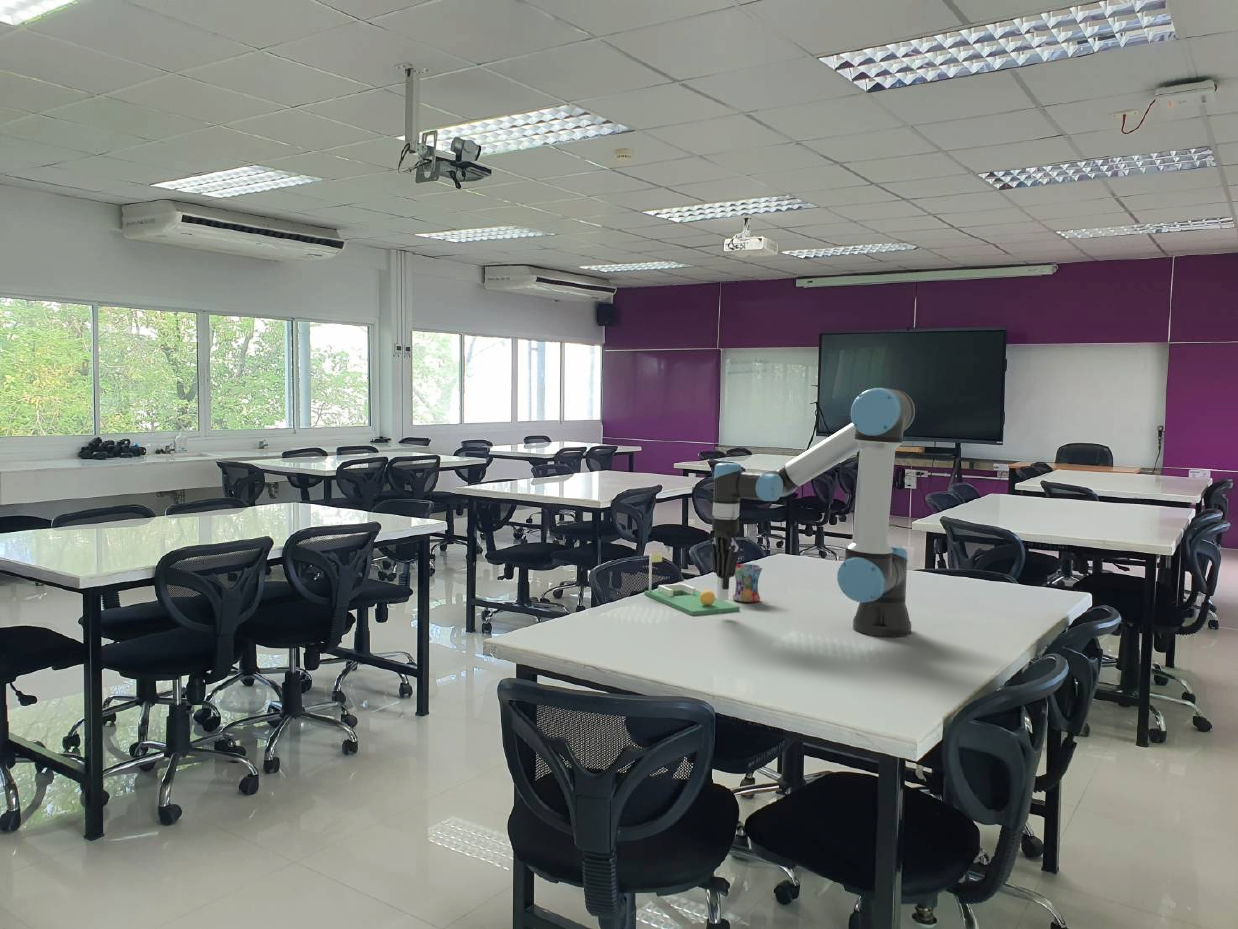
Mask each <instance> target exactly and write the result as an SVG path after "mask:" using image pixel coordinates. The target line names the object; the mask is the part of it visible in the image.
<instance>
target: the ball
mask: <svg viewBox="0 0 1238 929" xmlns="http://www.w3.org/2000/svg"><path fill="white" fill-rule="evenodd" d="M701 592H702V593H701V594H700V601H701V603H702V604H703V605H706V606H709V605H712V604H713V603H714V601H715V598H716V596H715V593H714V592H713V591H711V590H707V589H706V590H703V591H701Z"/></svg>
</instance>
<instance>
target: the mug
mask: <svg viewBox="0 0 1238 929" xmlns="http://www.w3.org/2000/svg"><path fill="white" fill-rule="evenodd" d="M762 570H763V566H761V565H758V564H753V563H752V564H750V563H740V564H739V563H737V564H736V569H735V575H734V577H735V579H734V580H735V589H734V593H733V595H732V599H733V600H735V601H737V602H741V603H754V602H758V601H759V600H761V596H760V594H759V587H758V586H759V579H760V576H761V572H762Z"/></svg>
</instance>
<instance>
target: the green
mask: <svg viewBox="0 0 1238 929" xmlns="http://www.w3.org/2000/svg"><path fill="white" fill-rule="evenodd" d="M661 562H663V553H662V552H661V553H649V564H648V570H649V571H648V590H644V596H647V597H649V598H651V599H653V600H656V601H658V602H660V603H662V604H665V605H666V606H669V607H671V608H673V609H676V610H678V611H680V612H682V613H685V614H687V615H690V616H703V615H711V614H714V615H715V614H723V612H724V613H733V612H734V613H735V612H740V609H741V608H740V606H738V605H735V604H733V603H731V602H727V601H726V600H723V601H719V600H717V597H715V601H714V603H713V604H712V605H709V606H706V605H703V604H702V603H701V601H700V594H701V593H702V592H703V591H699V590H697V588H695V587H693V586H691V585H688V584H686V583H672V584H671V583H670V584H659V585H658V586H657V589H655V590H653V589H652V577H653V576H652V575H653V574H652V572H653V570H652V569H653V563H661ZM675 595H676V596H675ZM677 595H678V596H677Z"/></svg>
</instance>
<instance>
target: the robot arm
mask: <svg viewBox="0 0 1238 929" xmlns="http://www.w3.org/2000/svg"><path fill="white" fill-rule="evenodd" d="M915 407H916V405H915V404H914V402H913V399H912V398H911V397H910V396H909V395H908V394H907V393H906V392H904V391H902V390H899V389H895V388H894V389H893V388H888V387H886V388H884V387H873V388H869V389H867V390H864V391H863V392H861V393H860V394H859V395H858V396H856V398H855V399H854V401H853V402H852V405H851V408H850V420H851V422H850V423H849V424H848V425H846V426H845V427H843V428H841V429H840V430H838V431H836V432H835V433H834V434H833V433H832V435H830V436H829V437H827V438H825V439H823V440H822V441H821V442H819V443H817V444H815V445H813V446H812V447H811V448H809V449H807V450H806V451H804V452H803V453H801V454H799V455H798V456H796V457H794V458H793V459H791V460H790V461H788V462H786V463H785V464H783V465H781V466H780V467H778V468H777V469H775V470H772V471H771V470H770V471H769V470H768V471H762V472H758V471H757V472H756V471H744V470H742V466H741V464H740V463H734V462H719V463H716V464H715V465H714V472H713V474H714V475H713V479H712V480H713V499H712V500H713V501H712V522H711V525H712V526H711V531H713V532H715V534H714V537H713V538H710V539H709V545H710V549H711V550H710V551H711V561H712V570H713V571H712V572H713V573H714V574H716V577H717V595H716V596H717V597H716V598H717V600H719V601H728V600H729V591H730V590H729V588H730V578H733V577H735V569H736V564H738V557H739V553H740V550H741V546H742V545H740V544H738V543H736V533H738V532H739V531H740V520H739V516H740V504H741V499H748V500H756V501H757V500H758V501H763V502H777V501H778V500H779V499H780V498H784V497H787V496H789V495H791V494H793V493H794V492H795V491H796V490H797V489H798V488H799V487H801V486H802V485H804V484H806V483H807V482H809V481H812V479H815V478H816V477H818V476H819V475H821V474H823V473H824V472H826V471H828V470H830V469H831V468H832V467H834V466H836V465H838V464H839V463H841V462H843V461H845V460H847V459H848V458H850V457H851V456H853V455H855V454H857V453H858V452H859V456H858V468H857V477H856V478H857V480H856V489H855V491H856V492H855V502H854V503H855V504H854V514H853V515H854V518H853V527H852V539H851V540H850V541H849V542H848V543H847V544H846V545H845V551H844V559H843V560H844V561H843V562H842V563H841V564H840V566H839V568H838V570H837V575H836V578H837V583H838V586H839V589H840V591H841V592H842V593H843V594H844V595H845V596H846V597H847V598H848V599H850V600H852V601H854V602H856V603H859V604H858V607H857V610H856V613H855V616H854V617H853V619H852V629H853V630H855V631H857V632H859V633H863V634H866V635H871V636H877V637H891V638H892V637H904V636H908V635H910V634H912V622H911V621H910V616H909V611H908V607H907V604H906V597H907V596H906V595H907V576H908V575H907V573H908V571H907V570H908V561H909V559H908V551H907V550H906V548H904V547H902V546H900V547H899V546H893V545H892V546H891V545H889V543H888V539H889V528H890V526H889V525H890V512H891V503H892V490H893V489H892V488H893V480H894V479H893V478H894V468H895V456H896V450H897V448H899V447H900V446H901V445H903V439H904V438H903V437H904V431H906V430H907V429H908V428H909V427H910V426H911V424H912V423H913V421H914V419H915V416H916V408H915Z"/></svg>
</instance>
